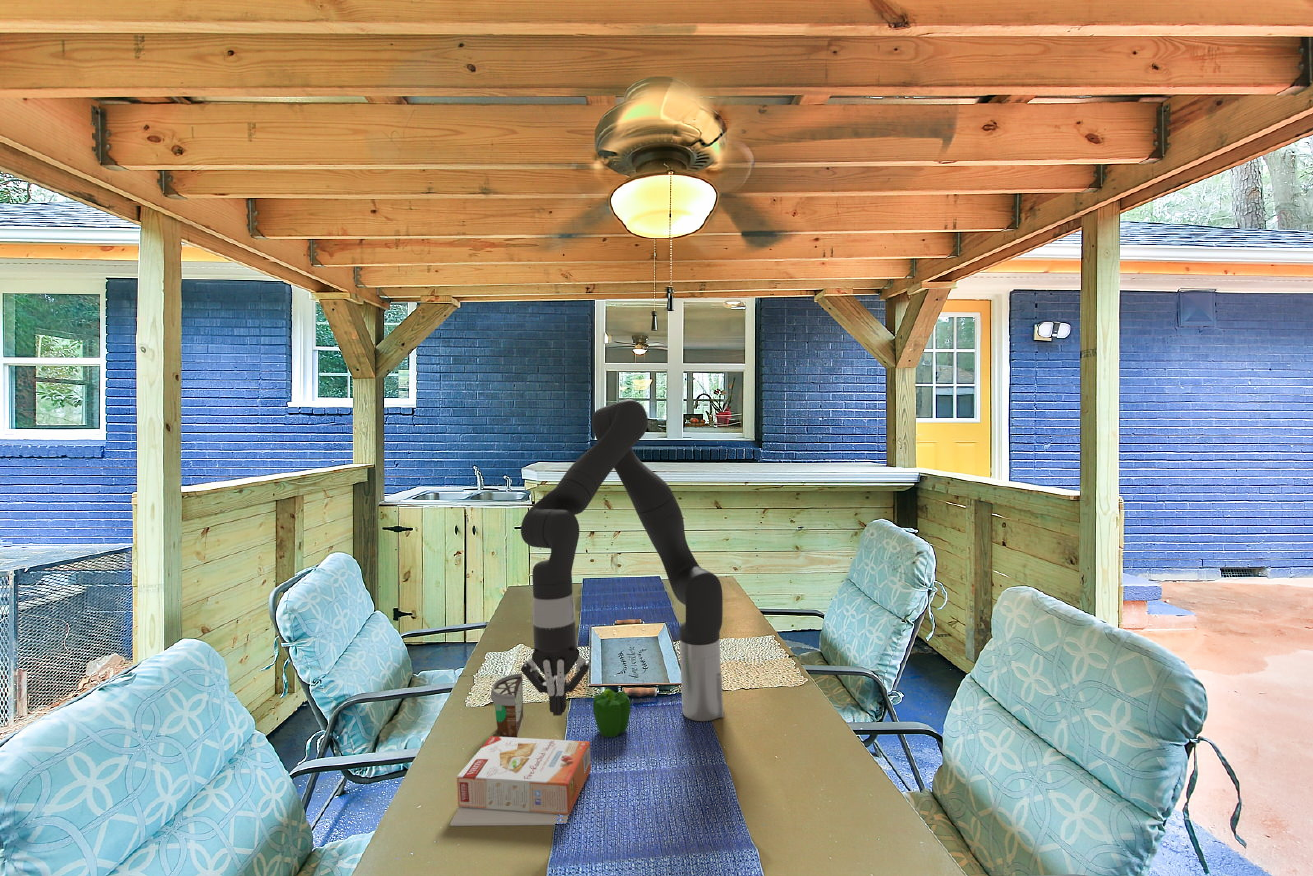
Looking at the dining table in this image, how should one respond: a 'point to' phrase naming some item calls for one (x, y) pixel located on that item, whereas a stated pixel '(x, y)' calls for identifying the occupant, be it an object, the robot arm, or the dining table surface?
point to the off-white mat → (503, 817)
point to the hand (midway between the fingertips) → (558, 713)
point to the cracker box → (525, 775)
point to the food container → (508, 705)
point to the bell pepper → (611, 712)
